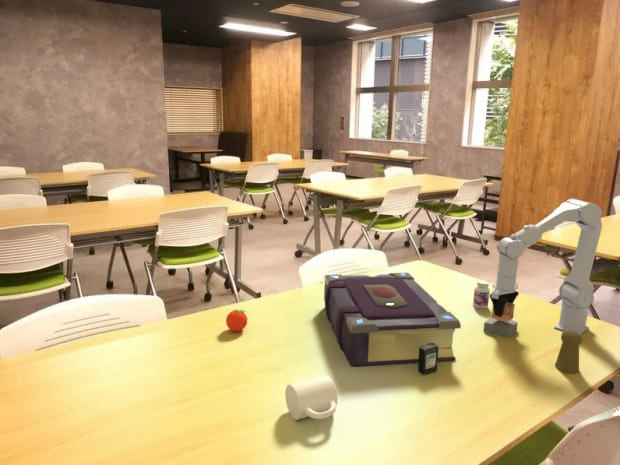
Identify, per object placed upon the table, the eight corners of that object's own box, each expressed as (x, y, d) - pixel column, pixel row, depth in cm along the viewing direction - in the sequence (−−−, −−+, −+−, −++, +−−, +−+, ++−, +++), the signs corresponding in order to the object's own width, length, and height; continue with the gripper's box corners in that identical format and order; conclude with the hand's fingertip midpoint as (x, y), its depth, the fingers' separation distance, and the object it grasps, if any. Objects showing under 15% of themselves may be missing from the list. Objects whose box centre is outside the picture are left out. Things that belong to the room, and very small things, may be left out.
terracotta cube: (498, 313, 156) (500, 299, 155) (513, 318, 153) (514, 304, 152) (491, 317, 153) (493, 303, 152) (506, 322, 150) (507, 308, 148)
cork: (582, 375, 128) (588, 338, 125) (558, 372, 129) (564, 336, 126) (574, 364, 133) (580, 329, 131) (552, 361, 135) (557, 326, 132)
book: (345, 369, 129) (347, 323, 126) (319, 306, 173) (320, 271, 169) (457, 362, 134) (462, 317, 131) (405, 303, 177) (407, 268, 174)
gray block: (492, 324, 160) (493, 315, 159) (516, 331, 155) (517, 321, 154) (483, 331, 154) (484, 322, 153) (507, 339, 149) (509, 329, 148)
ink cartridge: (423, 376, 126) (424, 349, 124) (417, 372, 128) (419, 345, 126) (437, 371, 128) (439, 345, 126) (431, 367, 130) (433, 342, 128)
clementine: (246, 323, 157) (246, 304, 155) (253, 332, 151) (253, 311, 149) (223, 327, 153) (223, 308, 152) (229, 336, 147) (229, 315, 146)
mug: (284, 408, 111) (284, 378, 109) (321, 397, 116) (321, 368, 114) (307, 437, 101) (307, 405, 99) (346, 425, 105) (347, 394, 103)
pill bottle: (471, 306, 174) (473, 282, 172) (474, 302, 178) (477, 278, 176) (486, 310, 171) (489, 285, 169) (489, 305, 176) (492, 281, 173)
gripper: (505, 267, 157) (500, 304, 160) (484, 276, 148) (479, 315, 151) (526, 272, 152) (521, 310, 155) (505, 282, 143) (500, 322, 146)
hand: (502, 313), depth 153 cm, fingers closed on terracotta cube, 5 cm apart
